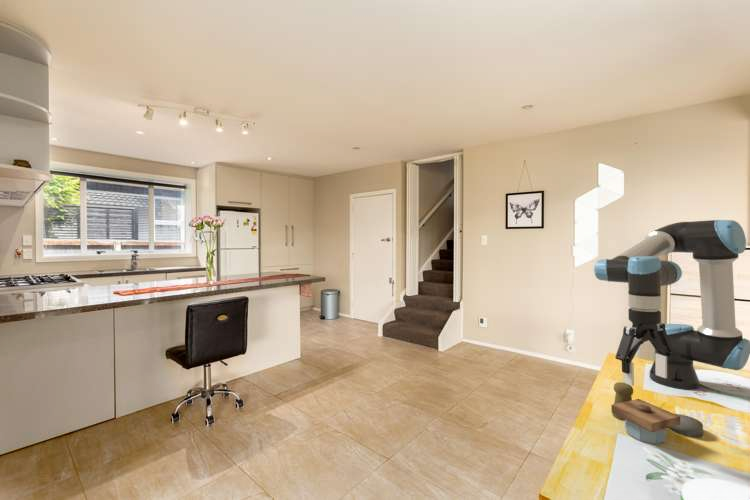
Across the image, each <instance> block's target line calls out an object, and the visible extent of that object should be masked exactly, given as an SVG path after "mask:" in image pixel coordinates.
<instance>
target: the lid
mask: <svg viewBox="0 0 750 500" xmlns="http://www.w3.org/2000/svg"><path fill="white" fill-rule="evenodd" d="M611 414H615V415H617V416H619V417H621V418H623V419H625V420H627V421H629V422H631V423H633V424H636V425H638V426H640V427H642V428H644V429H646V430H648V431H650V432H655V431H659V430H663V429H666V430H667V429H669V428H671V427H675V426H678V425H680V416H678V415H676V414H677V413H673V412H671V411H668V410H666V409H664V408H663V407H662V408H661V407H659V406H657V405H654V404H652V403H650V402H647V401H645V400H643V399H640V398H636V399H632V400H631V401H626V402H622V403H617V404H614V403H612V404H611Z"/></svg>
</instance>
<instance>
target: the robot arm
mask: <svg viewBox="0 0 750 500" xmlns="http://www.w3.org/2000/svg"><path fill="white" fill-rule="evenodd" d="M746 239H747V238H746V235H745V230H744V229H743V227H742V225H741V224H740V223H739V222H737V221H736V220H734V219H733V220H732V219H712V220H698V221H697V220H694V221H679V222H675V223H670V224H667V225H664V226H662V227H659V228H657V229H655V230H653V231H651V232H650V233H648V234H647V235H646V236H645V238H644V239H643V240H642V241H640V242H638V243H636V244H635V245H634V246H632V247H630V248H628V249H627V250H625V251H623V252H622V253H620V254H618V255H617V256H615V257H613V258H612V259H610V258H609V259H608V258H605V259H604V258H602V259H601V258H600V259H598V260H597V261H596V262H595V264H594V267H593V271H594V276H595V277H596V279H597V280H599V281H605V282H608V283H610V282H615V283H626V284H628V288H627V289H628V291H627V292H628V293H627V294H628V307H629V308H628V311H627V312H628V320H629V322H631V323H632V325H631V327H630V326H623V332H622V337H621V339H620V342H619V345H618V349H617V351H616V354H615V359H616V360H618V361H620V362H621V372H622V382H623V383H626V384H629V385H631V386H632V387H633V386H635V369H634V368H635V365H634V362H632V361H633V359H634V358H635V356H636V354H637V352H638V350H639V348H640V346H641V345H643V344H644V343H645V342H648V341H649V342H650V344H651V345H652V347H653V348H654V361H653V363H652V366H651V367H650V370H649V379H650V380H651V381H652V382H655V383H658V384H660V385H663V386H667V387H671V388H675V389H681V390H682V389H683V390H696V389H699V388H700V379H699V377H698V374H697V372H696V370H695V367H694V362H697V363H701V364H705V365H711V366H714V367H718V368H722V369H728V370H734V371H740V370H743V369H744V367H745V366H746V365H747V363H748V360H749V357H750V340H749V339H747V338H743V332H742V331H741V330H740V329H738V328H737V327H736V308H735V307H736V306H735V289H734V288H735V287H734V270H733V269H734V267H733V266H734V265H733V262H735V261H736V260H737V259H739V254H743V253H744V252H745V251H746V248H747V247H746V245H747V240H746ZM670 253H690V254H691V253H692V259H693V260H695V261H696V262H697V263H698V271H699V287H700V289H699V290H700V305H701V307H700V308H701V319H702V324H701V325H699V326H698V327H697V329H696V330H695V328H694V326H693V325H691V324H683V323H663V322H662V312H661V311H660V310H661V309H662V293H661V291H662V290H661V289H662V287H664V286H665V287H666V286H671V285H673V284H675V283H678V281H679V280H681V278H682V275H683V271H682V269H681V267H680V265H679V264H678V263H676V262H674V261H672V260H661V259H660V258H659V257H660V256H667V255H669V254H670Z"/></svg>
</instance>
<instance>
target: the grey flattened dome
mask: <svg viewBox="0 0 750 500" xmlns="http://www.w3.org/2000/svg"><path fill="white" fill-rule="evenodd" d="M675 414H676V415H678V416H680V425H678V426H675V427H671V428H668V429H669V430H670V431H671V432H673V433H676V434H678V435H680V436H684V437H688V438H695V439H696V438H697V439H698V438H702V437H703V436H704V424H703V423H702V421H700V420H698V419H696V418H695V417H691V416H689V415H686V414H681V413H675Z"/></svg>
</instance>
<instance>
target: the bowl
mask: <svg viewBox="0 0 750 500" xmlns="http://www.w3.org/2000/svg"><path fill="white" fill-rule="evenodd" d="M624 429H625V432H626V434H627V435H628V436H629V437H631V438H633V439H634V440H636V441H639V442H642V443H646V444H648V445H649V444H650V445H662V444H664V443H665V442H666V440H667V439H666V438H667V437H666V436H667V429H663V430H659V431H655V432H650V431H648V430H646V429H644V428H642V427H640V426H638V425H636V424H633V423H631V422H629V421H627V420H625V421H624Z"/></svg>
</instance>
